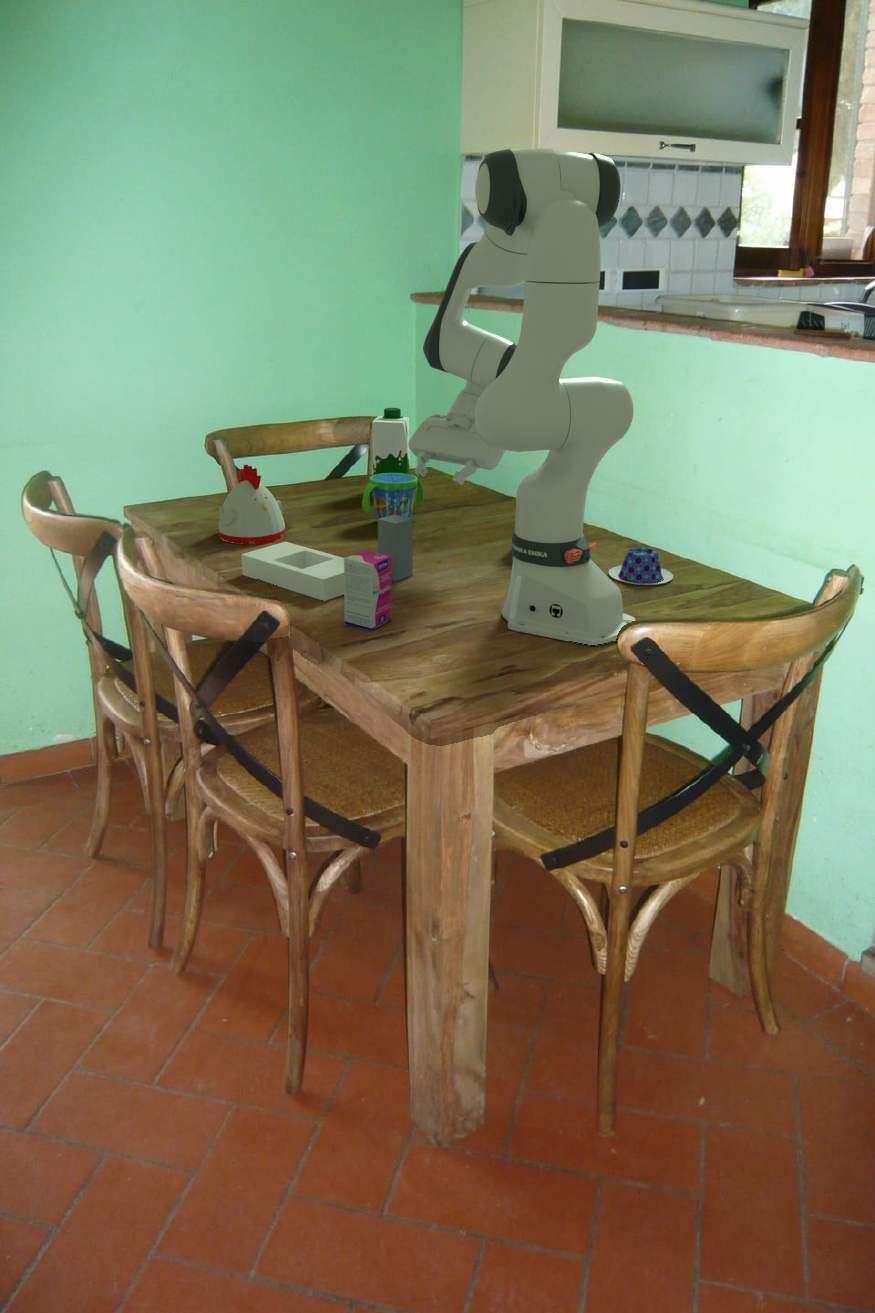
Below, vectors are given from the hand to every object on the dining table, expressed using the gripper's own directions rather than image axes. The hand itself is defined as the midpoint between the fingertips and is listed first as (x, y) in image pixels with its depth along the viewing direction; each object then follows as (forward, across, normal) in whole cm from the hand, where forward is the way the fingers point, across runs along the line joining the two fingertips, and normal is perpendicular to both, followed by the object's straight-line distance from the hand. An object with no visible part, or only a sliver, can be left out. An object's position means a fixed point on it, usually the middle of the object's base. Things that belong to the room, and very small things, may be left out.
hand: (437, 478), depth 188 cm
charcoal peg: (+20, 0, +3) cm, 20 cm away
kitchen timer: (+20, -41, +3) cm, 46 cm away
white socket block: (+29, -11, -6) cm, 32 cm away
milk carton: (-13, -44, +36) cm, 59 cm away
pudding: (-1, +35, +25) cm, 43 cm away
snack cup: (+1, -25, +22) cm, 34 cm away
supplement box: (+35, +13, -12) cm, 39 cm away
